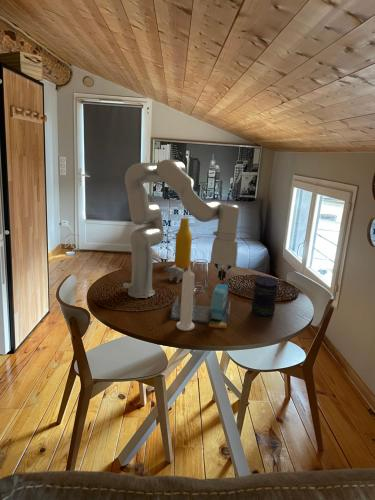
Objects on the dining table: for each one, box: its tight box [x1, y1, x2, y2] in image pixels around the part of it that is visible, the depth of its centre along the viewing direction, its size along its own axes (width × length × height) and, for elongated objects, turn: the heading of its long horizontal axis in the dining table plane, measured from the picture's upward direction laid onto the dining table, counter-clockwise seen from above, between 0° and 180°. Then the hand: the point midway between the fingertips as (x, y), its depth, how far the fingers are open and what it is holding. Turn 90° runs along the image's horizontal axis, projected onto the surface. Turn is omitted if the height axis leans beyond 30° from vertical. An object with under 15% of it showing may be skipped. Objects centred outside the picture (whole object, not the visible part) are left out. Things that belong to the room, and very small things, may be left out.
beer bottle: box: [173, 217, 193, 270], centre depth 208 cm, size 9×9×29 cm
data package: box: [210, 283, 229, 320], centre depth 149 cm, size 12×4×12 cm, turn 164°
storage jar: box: [250, 276, 279, 319], centre depth 155 cm, size 10×10×15 cm
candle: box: [176, 265, 196, 332], centre depth 137 cm, size 7×7×25 cm
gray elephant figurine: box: [163, 264, 185, 284], centre depth 189 cm, size 9×12×8 cm
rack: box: [170, 294, 231, 329], centre depth 150 cm, size 23×16×5 cm
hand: (221, 279), depth 146 cm, fingers closed
